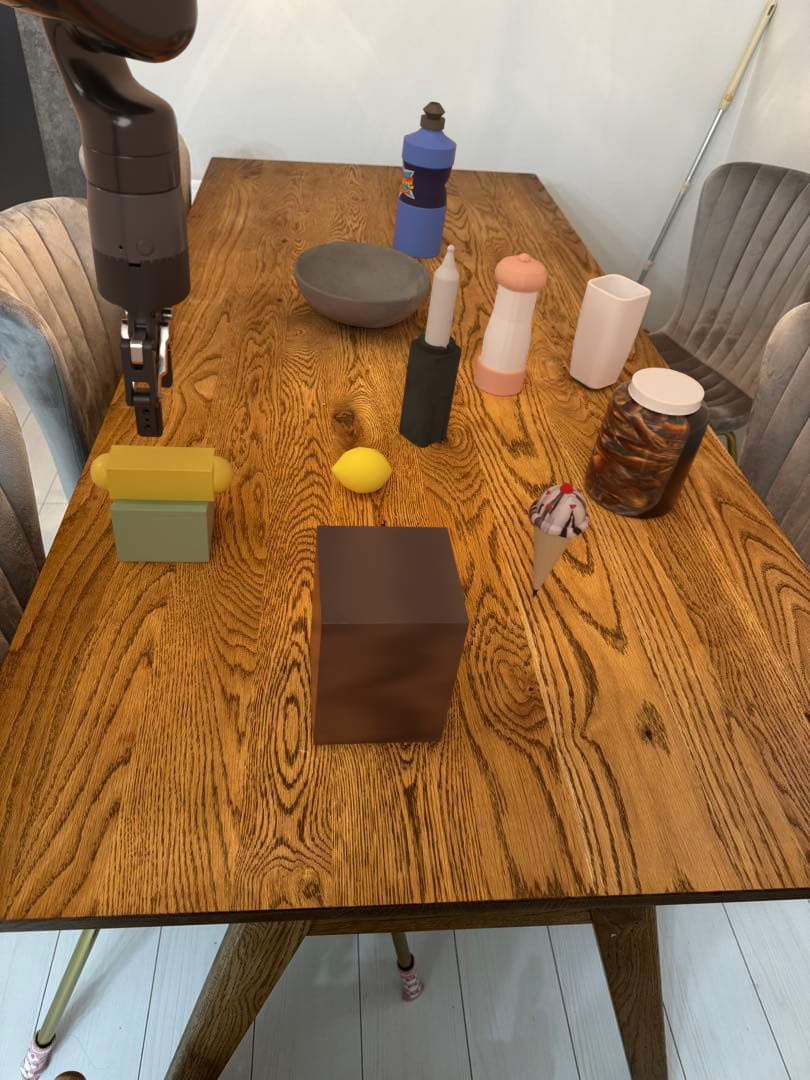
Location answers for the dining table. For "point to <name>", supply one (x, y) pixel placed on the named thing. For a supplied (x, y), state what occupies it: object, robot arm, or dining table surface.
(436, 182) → the water bottle
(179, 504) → the block
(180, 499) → the yellow ball-topped peg
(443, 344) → the candle
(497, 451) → the dining table surface
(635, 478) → the jar
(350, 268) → the bowl
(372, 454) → the lemon
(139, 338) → the robot arm
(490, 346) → the salt shaker
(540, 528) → the ice cream cone
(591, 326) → the cup
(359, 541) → the block
